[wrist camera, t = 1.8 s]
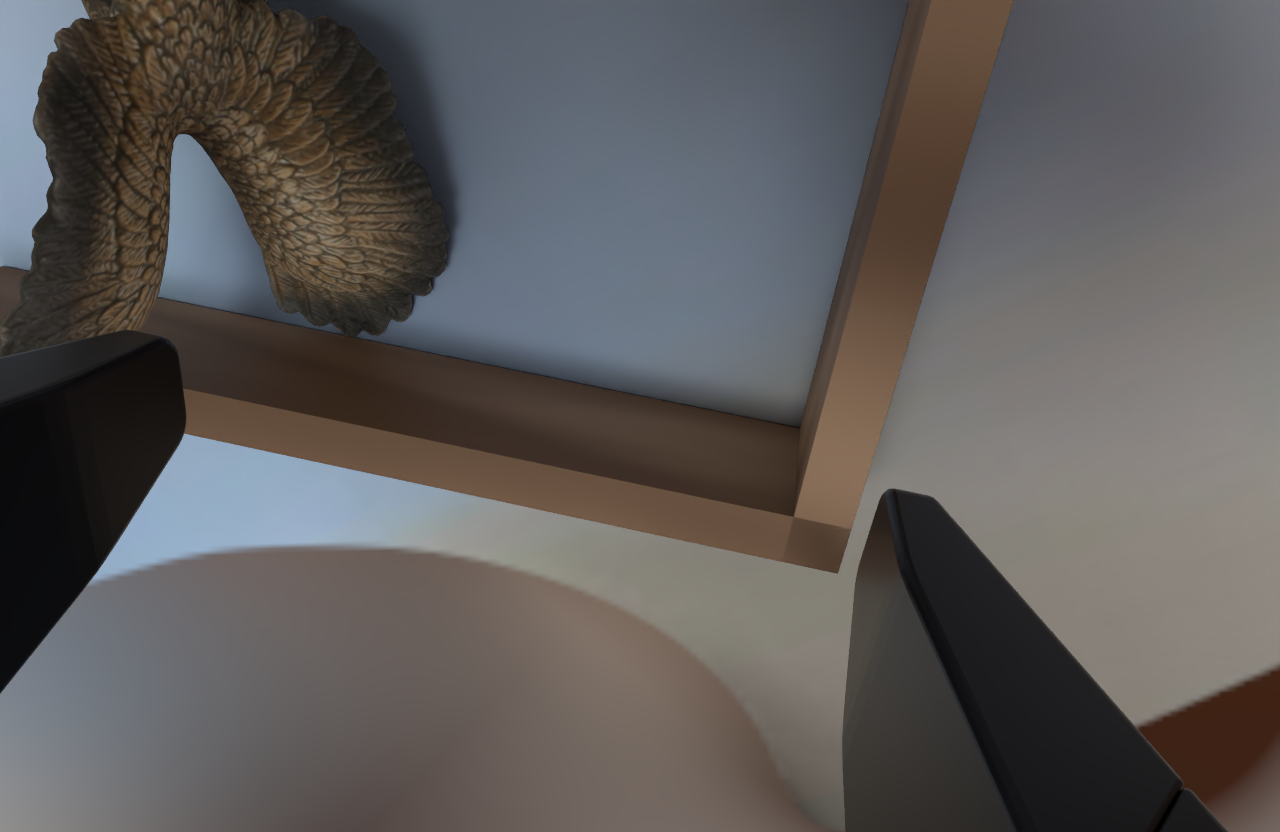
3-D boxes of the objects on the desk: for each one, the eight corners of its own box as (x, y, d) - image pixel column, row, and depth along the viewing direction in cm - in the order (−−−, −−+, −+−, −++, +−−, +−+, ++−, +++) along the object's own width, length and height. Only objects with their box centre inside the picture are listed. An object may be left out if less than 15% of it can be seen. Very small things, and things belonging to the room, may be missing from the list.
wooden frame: (837, 479, 20) (838, 573, 18) (11, 308, 22) (-99, 373, 19) (1038, -215, 14) (1082, -225, 12) (-139, -392, 16) (-333, -435, 13)
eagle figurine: (-132, -56, 17) (80, 435, 20) (-390, -225, 10) (-21, 548, 13) (316, -134, 19) (457, 319, 22) (337, -318, 12) (536, 367, 15)
